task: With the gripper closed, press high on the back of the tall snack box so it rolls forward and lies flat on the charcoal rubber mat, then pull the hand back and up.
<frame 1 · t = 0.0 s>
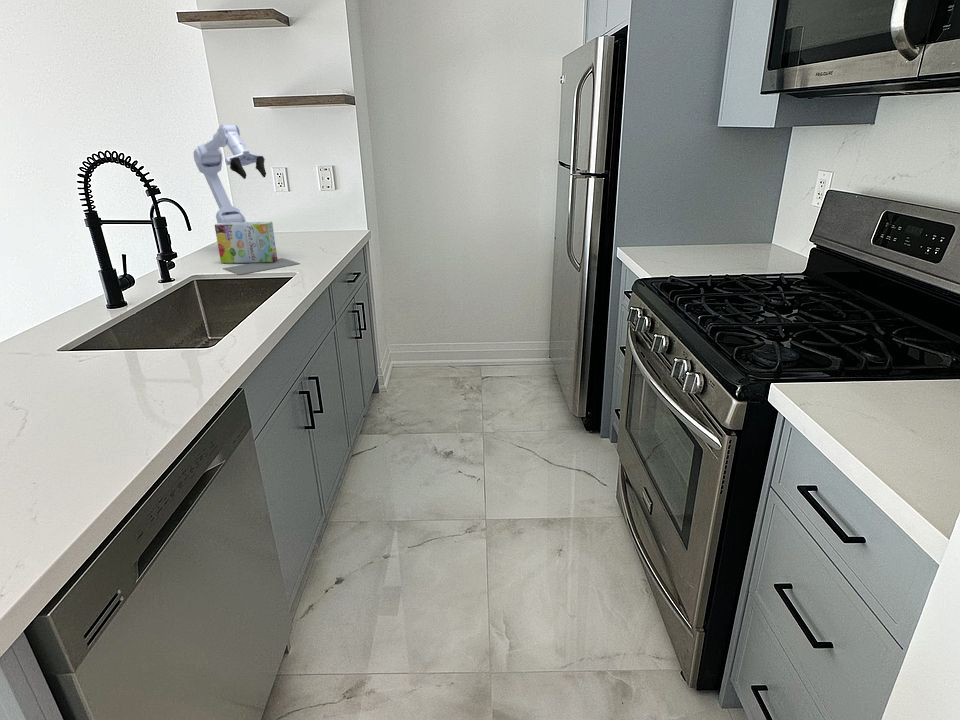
hand: (255, 176, 230), 32 cm above the worktop, tool tilted 50°, fingers open, 7 cm apart
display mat: (262, 266, 235), on the worktop
snack box: (249, 262, 242), on the worktop, touching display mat
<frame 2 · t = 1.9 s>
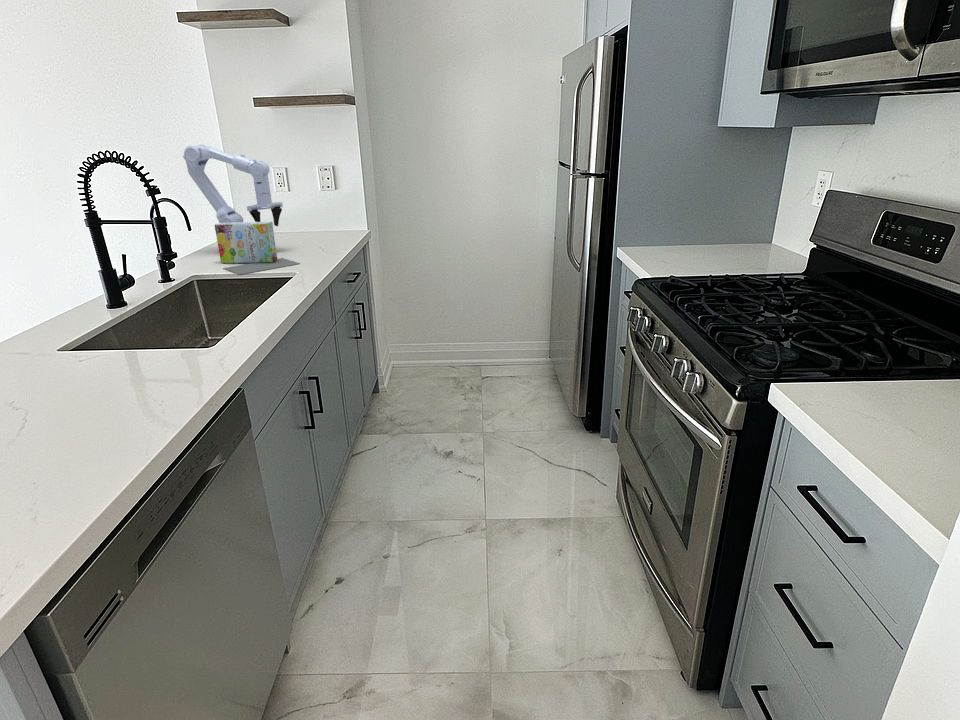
hand: (268, 227, 256), 10 cm above the worktop, tool pointing down, fingers open, 7 cm apart
nothing on the worktop moved.
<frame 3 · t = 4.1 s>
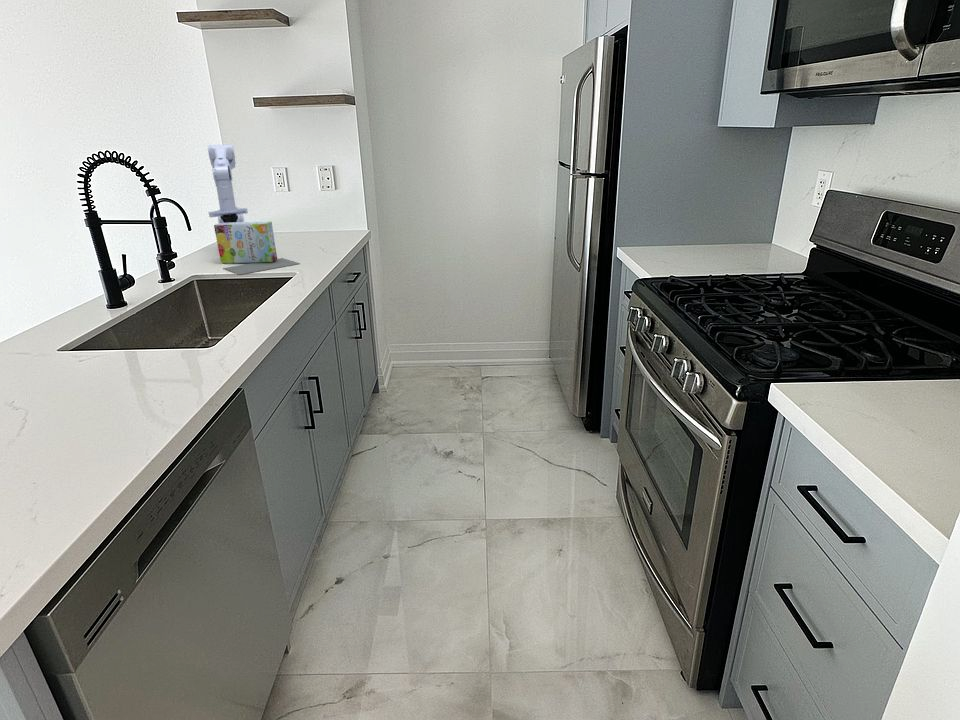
hand: (231, 234, 244), 10 cm above the worktop, tool pointing down, fingers closed
snack box: (249, 262, 242), on the worktop, touching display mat, gripper
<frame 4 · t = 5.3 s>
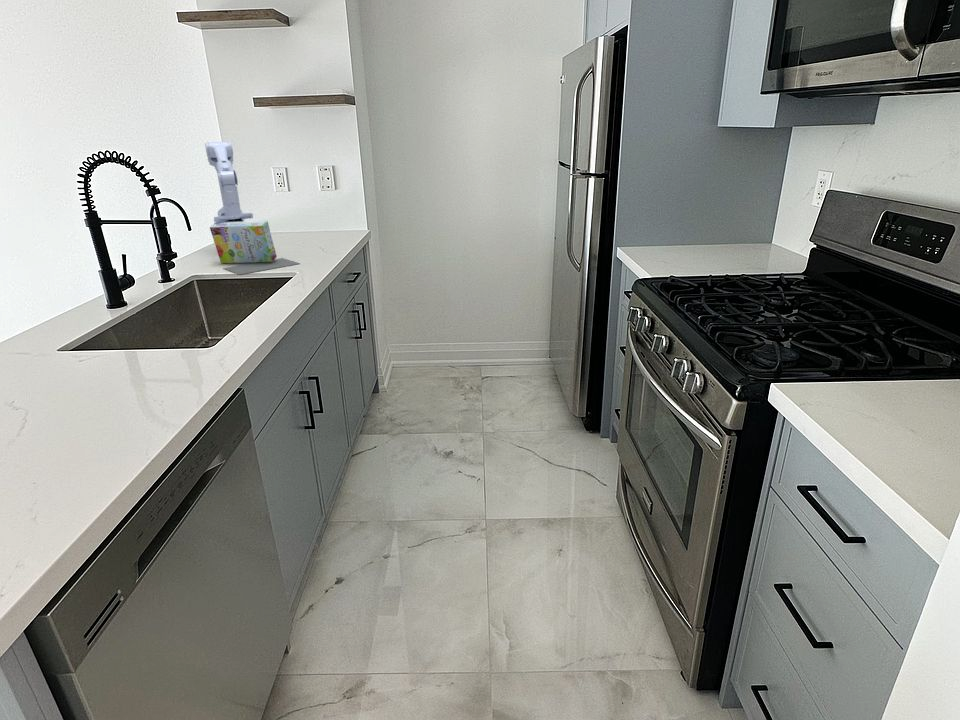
hand: (237, 239, 242), 8 cm above the worktop, tool pointing down, fingers closed
snack box: (249, 260, 242), point 1 cm above the worktop, touching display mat
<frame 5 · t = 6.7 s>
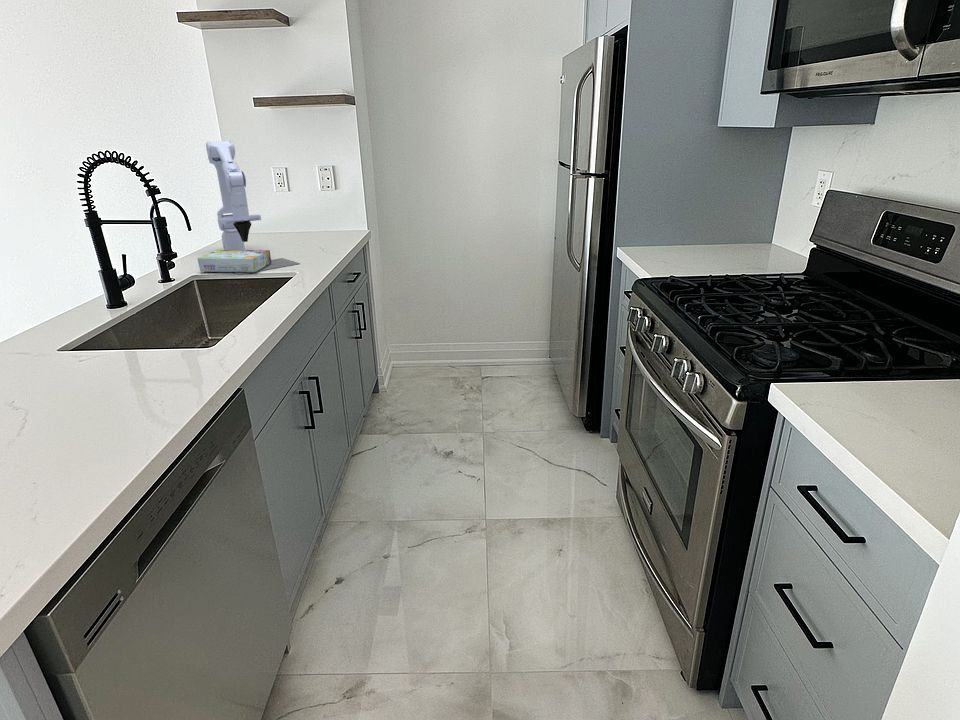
hand: (244, 241, 238), 8 cm above the worktop, tool pointing down, fingers closed
snack box: (244, 255, 238), point 3 cm above the worktop, touching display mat
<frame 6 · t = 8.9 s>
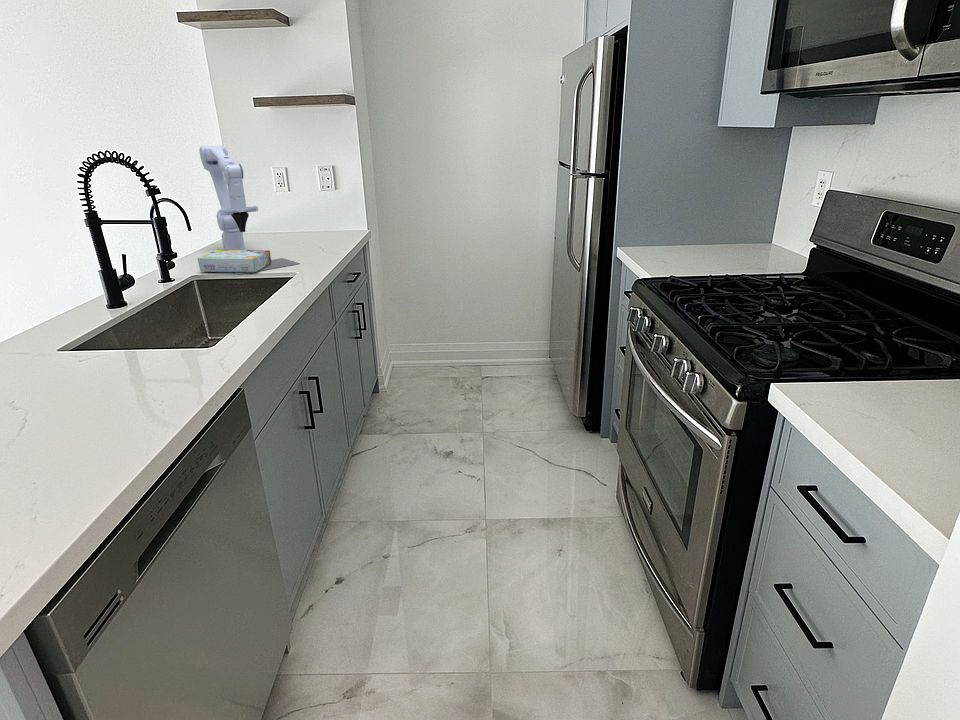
hand: (242, 231, 246), 10 cm above the worktop, tool pointing down, fingers closed
nothing on the worktop moved.
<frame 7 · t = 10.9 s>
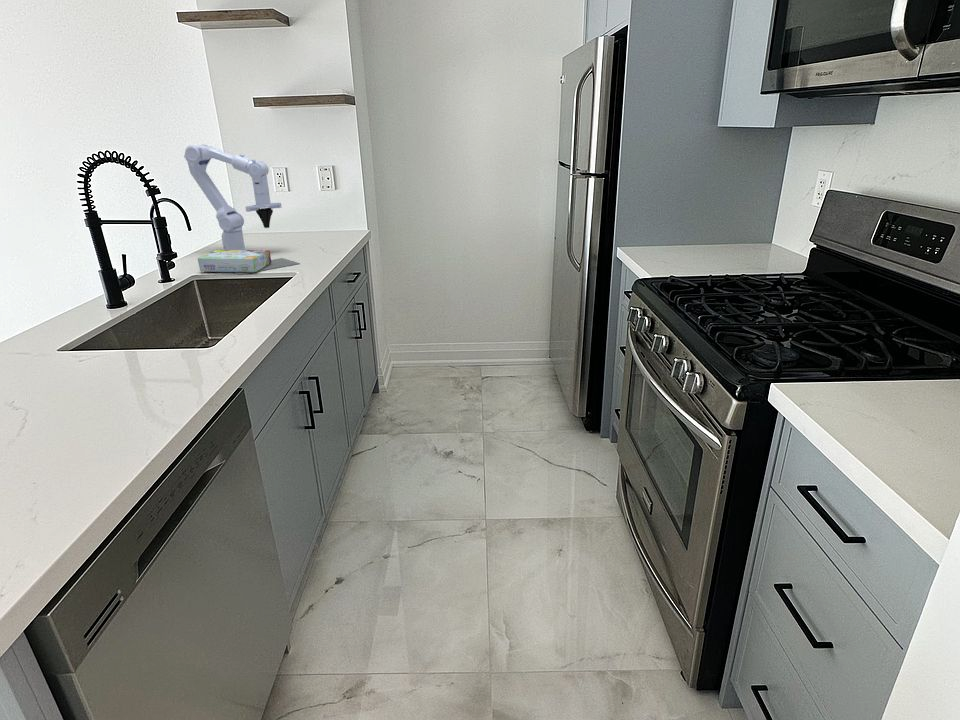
hand: (266, 227, 255), 10 cm above the worktop, tool pointing down, fingers closed
nothing on the worktop moved.
at the end: snack box tilted 91°; snack box touching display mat; snack box inside the target area (3.5 cm from its centre), point 3.3 cm above the worktop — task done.
